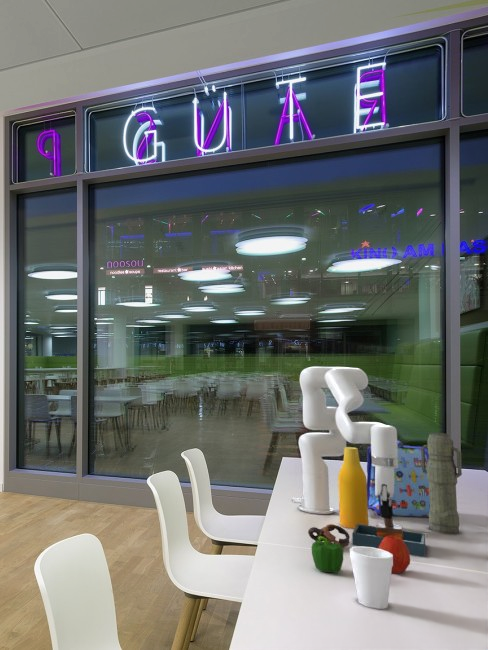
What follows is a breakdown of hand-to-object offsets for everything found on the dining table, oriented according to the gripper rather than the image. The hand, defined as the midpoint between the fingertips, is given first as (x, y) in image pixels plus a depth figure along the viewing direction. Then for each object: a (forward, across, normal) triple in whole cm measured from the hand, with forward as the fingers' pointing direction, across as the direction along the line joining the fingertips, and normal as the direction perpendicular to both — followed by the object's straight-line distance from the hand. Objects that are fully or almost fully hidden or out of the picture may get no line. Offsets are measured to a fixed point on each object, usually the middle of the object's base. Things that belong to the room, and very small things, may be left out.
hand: (386, 516), depth 202 cm
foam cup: (+10, +59, 0) cm, 60 cm away
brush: (+7, 0, +1) cm, 7 cm away
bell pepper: (+10, +39, -13) cm, 42 cm away
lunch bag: (+10, -53, +1) cm, 54 cm away
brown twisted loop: (+10, +14, -16) cm, 23 cm away
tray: (+9, 0, 0) cm, 9 cm away
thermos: (+10, -33, +15) cm, 38 cm away
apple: (+10, +28, +3) cm, 30 cm away
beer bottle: (+10, -19, -12) cm, 24 cm away
